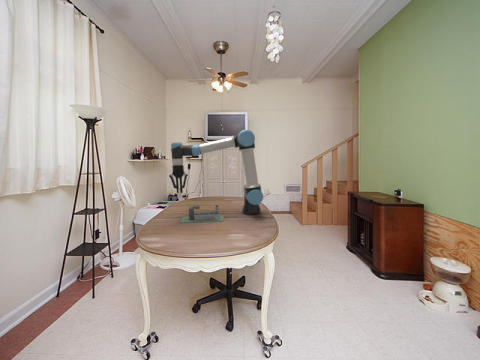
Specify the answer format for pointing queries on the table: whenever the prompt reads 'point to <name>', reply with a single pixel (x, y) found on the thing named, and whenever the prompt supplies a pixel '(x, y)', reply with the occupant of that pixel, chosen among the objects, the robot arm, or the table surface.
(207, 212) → the heatsink
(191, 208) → the clip
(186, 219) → the board
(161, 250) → the table surface
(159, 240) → the table surface
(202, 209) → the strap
